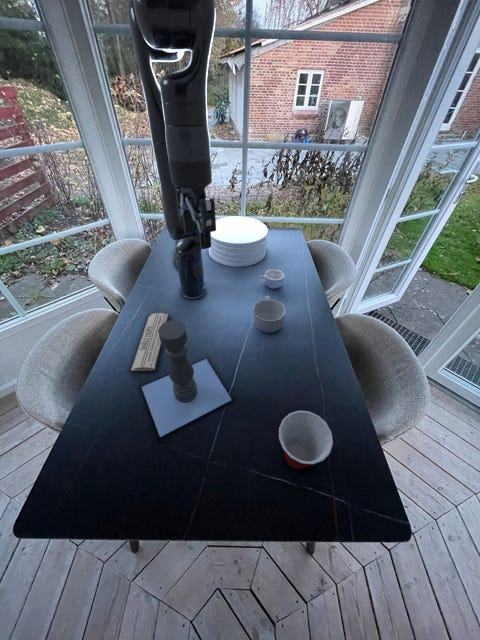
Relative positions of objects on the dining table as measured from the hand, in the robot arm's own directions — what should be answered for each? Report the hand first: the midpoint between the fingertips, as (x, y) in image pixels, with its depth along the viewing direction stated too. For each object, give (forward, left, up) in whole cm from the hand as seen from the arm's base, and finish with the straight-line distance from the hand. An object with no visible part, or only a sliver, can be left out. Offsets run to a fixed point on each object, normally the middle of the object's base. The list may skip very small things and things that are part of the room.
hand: (197, 239), depth 58 cm
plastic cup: (+39, +4, -38) cm, 55 cm away
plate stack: (-50, +40, -38) cm, 75 cm away
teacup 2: (-1, +24, -38) cm, 45 cm away
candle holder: (+11, -12, -38) cm, 41 cm away
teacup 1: (-19, +38, -38) cm, 57 cm away
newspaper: (-13, -14, -38) cm, 43 cm away
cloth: (+11, -12, -38) cm, 41 cm away
